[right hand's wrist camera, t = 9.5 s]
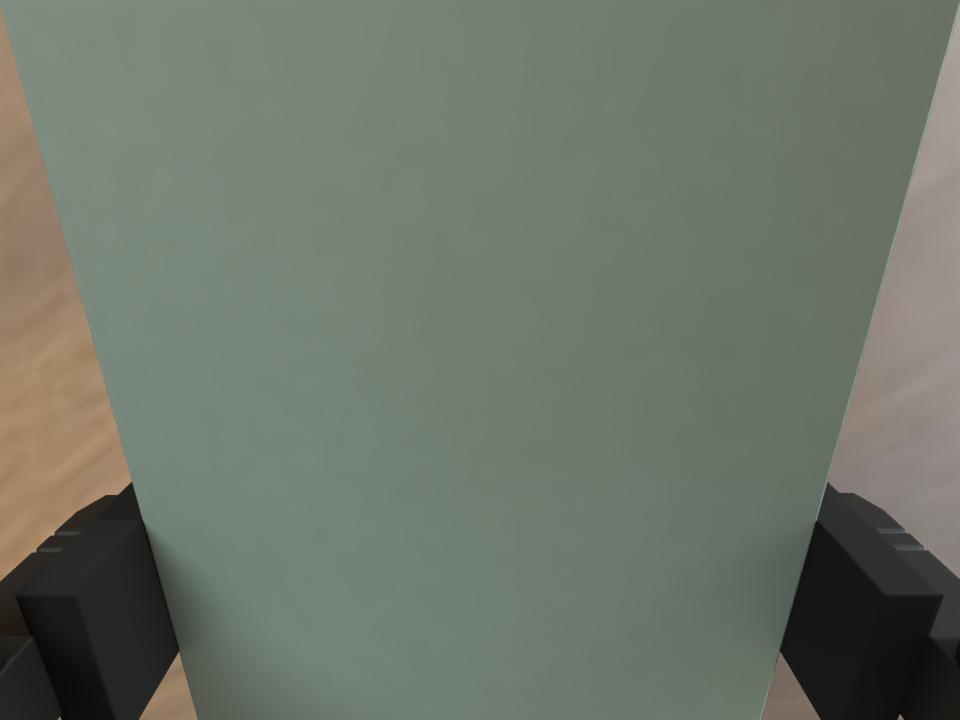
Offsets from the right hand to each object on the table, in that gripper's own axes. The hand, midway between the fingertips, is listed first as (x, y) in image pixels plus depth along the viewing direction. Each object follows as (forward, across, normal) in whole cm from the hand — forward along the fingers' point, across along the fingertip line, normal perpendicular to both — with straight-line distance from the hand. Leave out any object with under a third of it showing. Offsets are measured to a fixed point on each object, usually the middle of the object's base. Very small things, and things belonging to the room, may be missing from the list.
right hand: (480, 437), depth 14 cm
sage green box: (+5, 0, -3) cm, 6 cm away
